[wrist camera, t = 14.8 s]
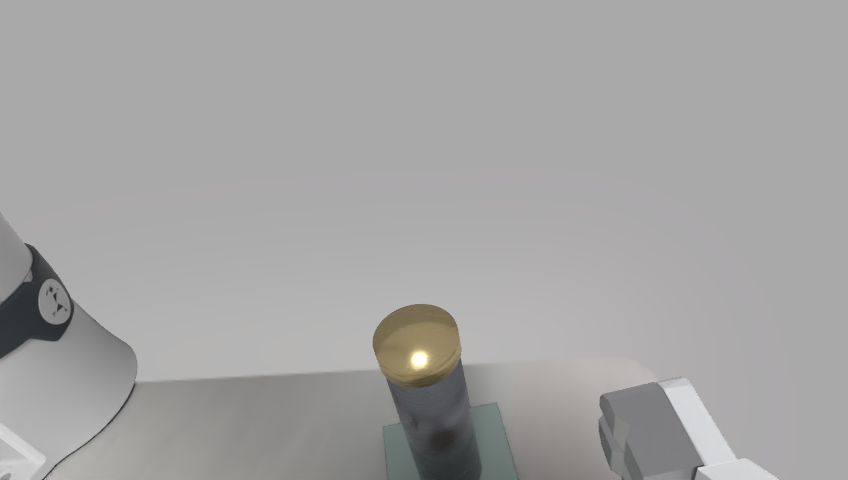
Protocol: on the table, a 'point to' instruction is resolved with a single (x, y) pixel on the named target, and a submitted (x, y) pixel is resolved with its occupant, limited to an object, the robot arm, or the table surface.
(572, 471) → the table surface
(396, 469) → the mat
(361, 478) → the table surface
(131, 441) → the table surface
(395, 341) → the pepper mill
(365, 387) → the table surface
